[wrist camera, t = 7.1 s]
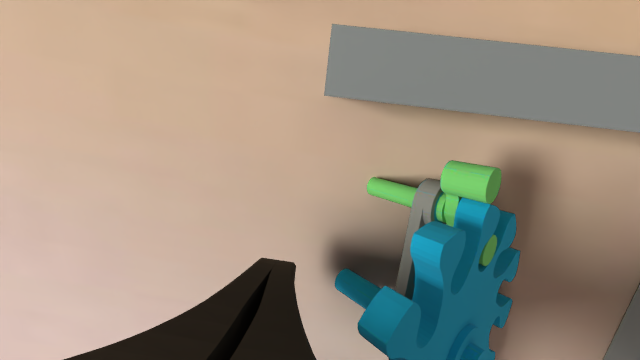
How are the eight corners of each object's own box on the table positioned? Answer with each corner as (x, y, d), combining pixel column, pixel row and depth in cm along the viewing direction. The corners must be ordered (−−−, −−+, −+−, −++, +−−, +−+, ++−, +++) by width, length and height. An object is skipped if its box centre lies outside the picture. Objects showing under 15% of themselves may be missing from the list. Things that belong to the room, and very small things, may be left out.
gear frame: (600, 453, 15) (661, 539, 12) (293, 401, 16) (281, 470, 13) (800, 89, 10) (985, 87, 7) (335, 38, 11) (331, 18, 8)
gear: (497, 420, 13) (339, 660, 7) (388, 340, 18) (225, 435, 11) (564, 175, 12) (444, 165, 5) (425, 153, 16) (261, 131, 9)
